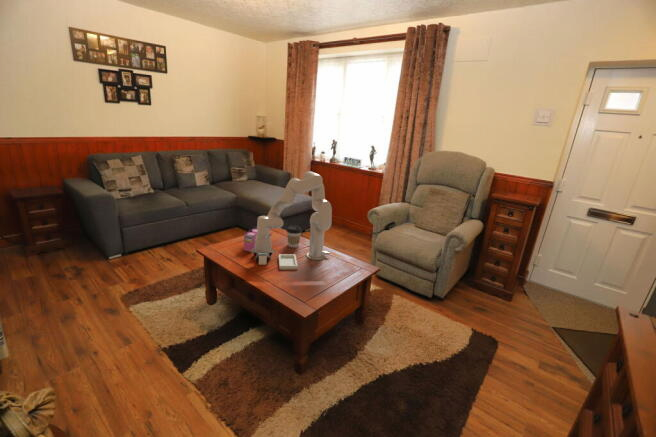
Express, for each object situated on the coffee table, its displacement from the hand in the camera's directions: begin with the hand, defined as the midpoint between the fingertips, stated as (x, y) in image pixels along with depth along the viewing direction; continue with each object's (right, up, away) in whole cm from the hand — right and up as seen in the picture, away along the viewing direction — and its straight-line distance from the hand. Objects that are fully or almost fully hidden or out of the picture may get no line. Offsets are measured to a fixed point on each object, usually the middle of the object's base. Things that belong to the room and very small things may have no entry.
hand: (262, 262), depth 201 cm
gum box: (-11, +7, +27) cm, 30 cm away
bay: (-2, +2, +10) cm, 10 cm away
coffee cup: (+16, +7, +32) cm, 37 cm away
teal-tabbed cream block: (-1, 0, +5) cm, 5 cm away
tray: (+16, -1, +4) cm, 16 cm away
